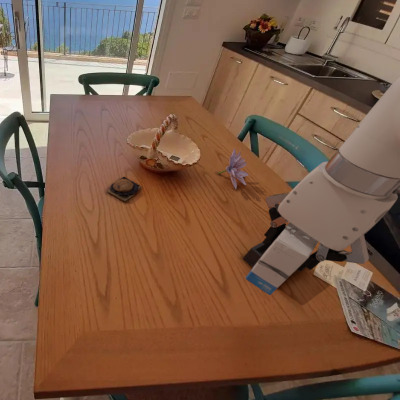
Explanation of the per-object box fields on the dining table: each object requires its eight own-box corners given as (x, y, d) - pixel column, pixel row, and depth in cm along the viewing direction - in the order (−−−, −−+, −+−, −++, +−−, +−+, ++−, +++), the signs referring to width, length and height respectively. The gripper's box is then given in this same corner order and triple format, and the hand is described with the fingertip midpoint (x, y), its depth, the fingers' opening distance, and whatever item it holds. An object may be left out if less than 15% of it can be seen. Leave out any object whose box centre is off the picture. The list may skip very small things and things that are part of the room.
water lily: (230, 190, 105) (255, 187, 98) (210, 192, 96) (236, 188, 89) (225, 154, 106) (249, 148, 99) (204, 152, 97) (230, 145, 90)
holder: (303, 266, 72) (314, 256, 69) (273, 285, 67) (284, 276, 64) (272, 242, 78) (281, 231, 75) (242, 258, 73) (250, 248, 70)
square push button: (125, 203, 87) (127, 195, 84) (105, 191, 90) (106, 183, 88) (142, 188, 93) (145, 180, 90) (122, 177, 97) (124, 169, 94)
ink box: (269, 296, 49) (310, 259, 41) (242, 277, 51) (276, 239, 43) (286, 271, 53) (326, 232, 45) (261, 254, 56) (294, 215, 48)
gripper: (460, 204, 32) (348, 283, 44) (311, 136, 42) (254, 215, 55) (437, 225, 29) (324, 304, 41) (283, 147, 39) (230, 228, 52)
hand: (285, 253), depth 48 cm, fingers closed on ink box, 5 cm apart
